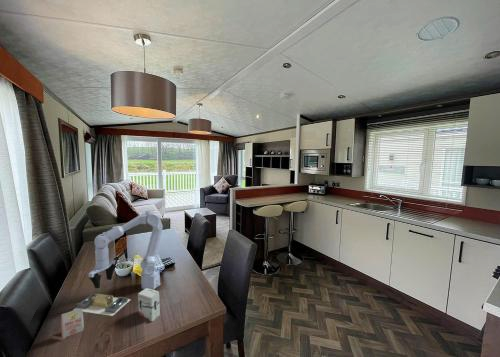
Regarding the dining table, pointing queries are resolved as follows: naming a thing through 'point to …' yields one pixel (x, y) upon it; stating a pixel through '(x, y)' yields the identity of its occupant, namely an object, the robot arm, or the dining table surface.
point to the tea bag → (71, 323)
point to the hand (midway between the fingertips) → (103, 283)
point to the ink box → (149, 304)
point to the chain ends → (110, 308)
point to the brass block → (101, 300)
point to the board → (100, 309)
